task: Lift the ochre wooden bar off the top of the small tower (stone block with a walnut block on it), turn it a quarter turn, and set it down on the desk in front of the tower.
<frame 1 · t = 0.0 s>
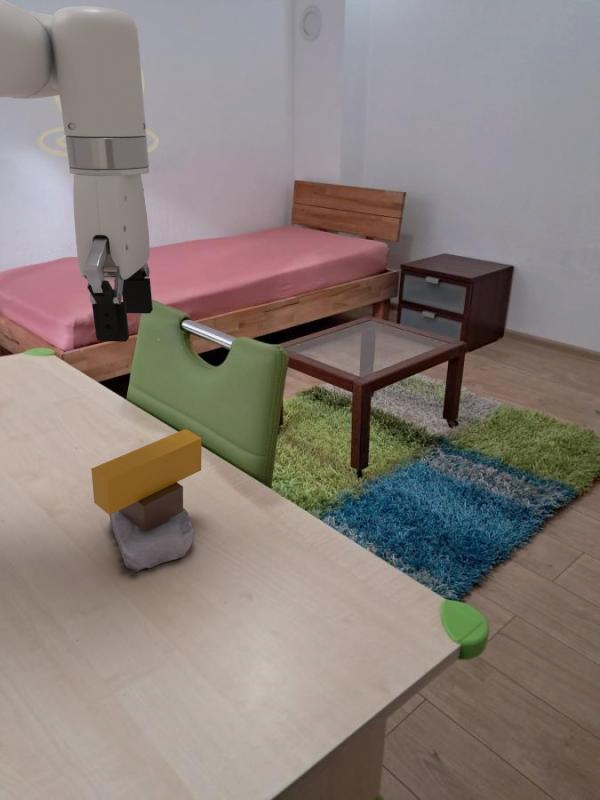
hand: (126, 325, 68), 30 cm above the table, tool pointing down, fingers open, 9 cm apart
stone block: (155, 540, 83), on the table, touching walnut block
bar: (150, 485, 80), point 8 cm above the table, tilted 5°, touching walnut block
walnut block: (150, 510, 82), point 4 cm above the table, tilted 5°, touching bar, stone block
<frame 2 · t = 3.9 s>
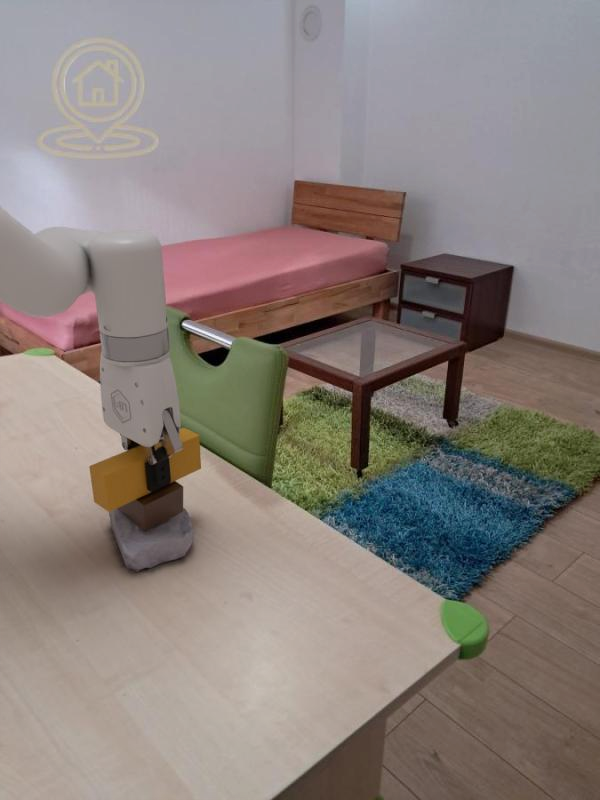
hand: (149, 479, 79), 9 cm above the table, tool pointing down, fingers closed on bar, 3 cm apart
bar: (150, 484, 80), point 8 cm above the table, touching gripper, walnut block
everything else where it was.
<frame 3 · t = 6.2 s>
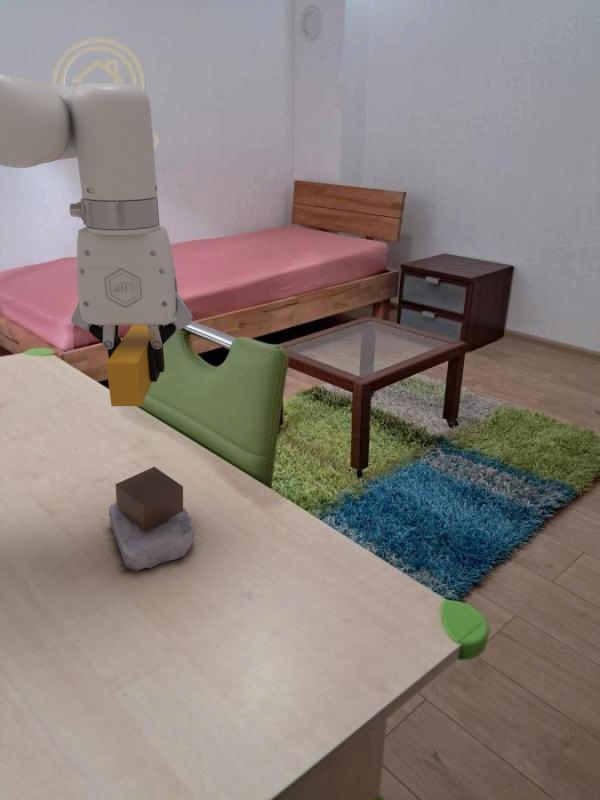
hand: (138, 376, 74), 23 cm above the table, tool pointing down, fingers closed on bar, 3 cm apart
bar: (139, 381, 74), point 22 cm above the table, touching gripper
walnut block: (150, 510, 82), point 4 cm above the table, tilted 5°, touching stone block
everything else where it was.
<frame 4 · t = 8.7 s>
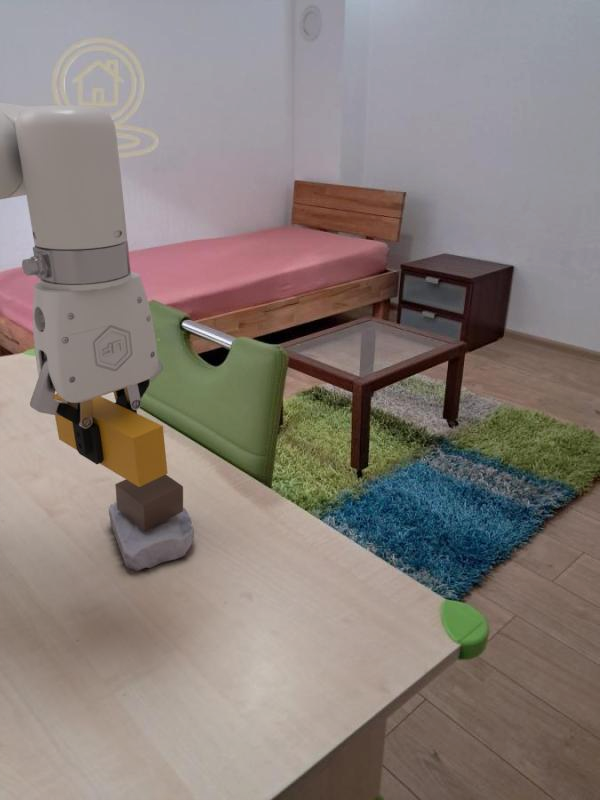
hand: (109, 449, 62), 21 cm above the table, tool pointing down, fingers closed on bar, 3 cm apart
bar: (110, 455, 62), point 20 cm above the table, touching gripper
everything else where it was.
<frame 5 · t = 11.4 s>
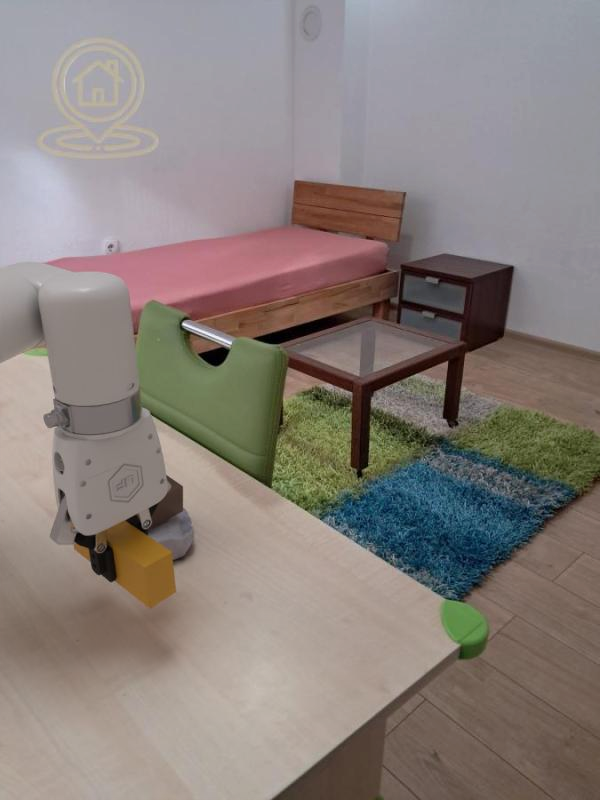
hand: (122, 564, 66), 8 cm above the table, tool pointing down, fingers closed on bar, 3 cm apart
bar: (122, 570, 67), point 7 cm above the table, touching gripper
everything else where it was.
when the fingers open (1 cm above the table, at t = 13.4 s): bar stays where it is, on the table.
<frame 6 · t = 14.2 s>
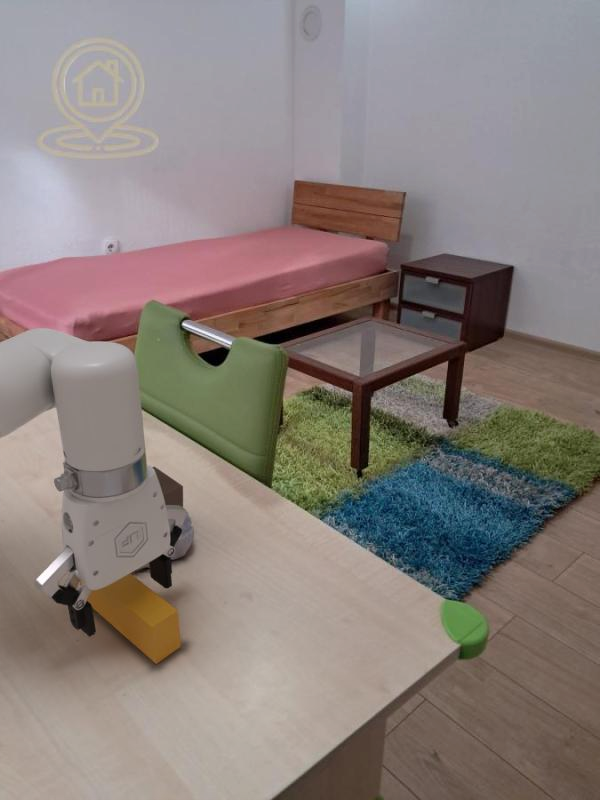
hand: (125, 604, 69), 2 cm above the table, tool pointing down, fingers open, 9 cm apart
bar: (129, 621, 70), on the table
everything else where it was.
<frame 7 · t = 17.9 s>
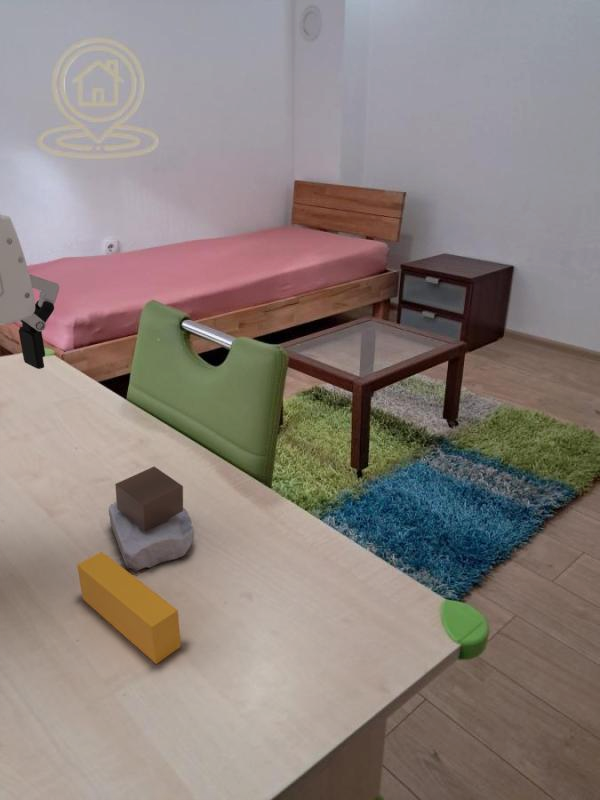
nothing on the table moved.
at the end: bar inside the target area (0.1 cm from its centre), on the table; walnut block point 4.2 cm above the table; the gripper is holding nothing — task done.
